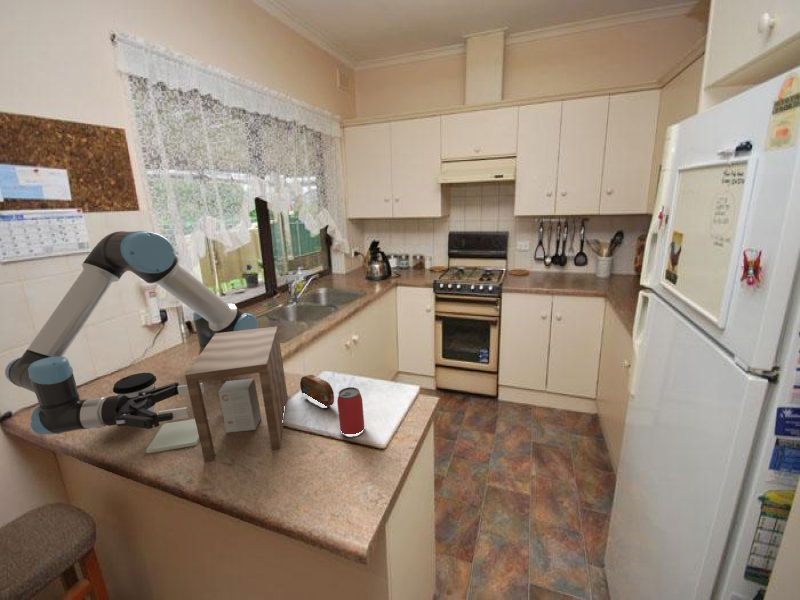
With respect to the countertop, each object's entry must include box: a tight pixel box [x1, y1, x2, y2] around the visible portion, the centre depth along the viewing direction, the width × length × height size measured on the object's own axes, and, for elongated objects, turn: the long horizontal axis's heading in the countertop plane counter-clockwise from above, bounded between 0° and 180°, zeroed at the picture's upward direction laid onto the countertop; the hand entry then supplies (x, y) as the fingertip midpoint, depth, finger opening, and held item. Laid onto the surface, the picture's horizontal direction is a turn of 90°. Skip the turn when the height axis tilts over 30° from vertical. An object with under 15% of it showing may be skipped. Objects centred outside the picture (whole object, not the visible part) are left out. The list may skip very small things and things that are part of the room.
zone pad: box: [146, 416, 210, 454], centre depth 102 cm, size 12×12×1 cm
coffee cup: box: [112, 372, 157, 413], centre depth 112 cm, size 11×11×12 cm
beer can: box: [336, 386, 365, 434], centre depth 99 cm, size 7×7×12 cm
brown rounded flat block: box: [299, 374, 335, 408], centre depth 115 cm, size 15×3×8 cm, turn 47°
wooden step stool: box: [184, 326, 288, 463], centre depth 103 cm, size 28×18×24 cm, turn 13°
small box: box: [217, 378, 262, 434], centre depth 104 cm, size 8×6×13 cm
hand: (196, 399), depth 101 cm, fingers open, 13 cm apart
